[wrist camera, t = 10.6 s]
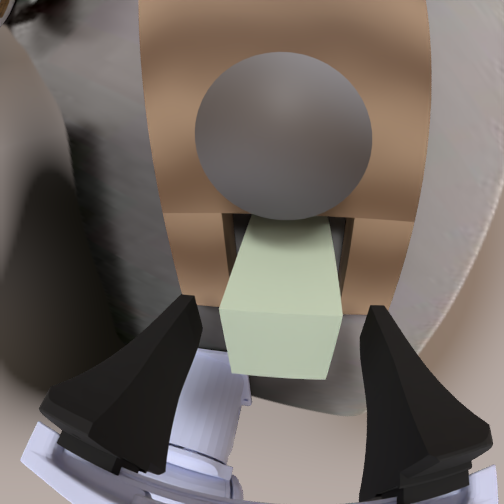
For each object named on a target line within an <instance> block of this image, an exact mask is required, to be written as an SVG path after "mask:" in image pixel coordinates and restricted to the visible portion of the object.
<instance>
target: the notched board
mask: <svg viewBox="0 0 504 504" xmlns="http://www.w3.org/2000/svg"><path fill="white" fill-rule="evenodd" d="M139 36H140V54H141V67H142V79H143V89H144V99H145V107H146V116H147V123H148V131H149V138H150V144H151V151H152V157H153V163H154V169H155V175H156V180H157V186H158V191H159V196H160V201H161V206H162V211H163V216H164V221H165V225H166V230H167V234H168V239H169V243H170V247H171V252H172V256H173V260H174V264H175V268H176V272H177V276H178V280H179V283H180V287H181V291H182V294H184V295H194V296H195V299H196V303H197V305H204V306H214V307H220V304H221V301H222V299H223V296H224V293H225V290H226V287H227V284H228V281H229V278H230V275H231V272H232V269H233V267H234V264H235V261H236V258H237V255H236V245H235V234H234V224H233V213H245V214H251V213H249V212H247V211H245V210H243V209H241V208H239V207H238V206H236V205H234V204H233V203H231V202H230V201H229V200H227V199H226V198H225V197H224V196H223V195H222V194H221V193H220V192H219V191H218V190H217V189H216V188H215V187H214V186H213V184H212V183H211V182H210V180H209V179H208V177H207V175H206V174H205V172H204V170H203V168H202V166H201V164H200V161H199V158H198V154H197V150H196V144H195V123H196V117H197V113H198V109H199V107H200V104H201V102H202V99H203V97H204V96H205V94H206V92H207V90H208V89H209V88H210V86H211V85H212V84H213V82H214V81H215V80H216V79H217V78H218V77H219V76H220V75H221V74H222V73H223V72H225V71H226V70H227V69H229V68H230V67H231V66H233V65H235V64H236V63H238V62H240V61H242V60H244V59H247V58H250V57H252V56H255V55H260V54H264V53H271V52H292V53H297V54H303V55H306V56H309V57H312V58H315V59H318V60H320V61H322V62H324V63H326V64H328V65H330V66H331V67H333V68H334V69H335V70H337V71H338V72H340V73H341V74H342V75H343V76H344V77H345V78H346V79H347V80H348V81H349V82H350V83H351V84H352V85H353V87H354V88H355V89H356V90H357V92H358V93H359V95H360V97H361V98H362V100H363V102H364V104H365V106H366V109H367V111H368V115H369V118H370V121H371V128H372V150H371V156H370V160H369V163H368V166H367V169H366V171H365V173H364V175H363V177H362V179H361V180H360V182H359V184H358V185H357V186H356V188H355V189H354V190H353V191H352V193H351V194H350V195H349V196H347V197H346V198H345V199H344V200H343V201H342V202H340V203H339V204H338V205H336V206H335V207H333V208H331V209H329V210H328V211H326V212H324V213H321V214H318V215H316V216H331V217H346V223H345V231H344V239H343V246H342V253H341V260H340V266H339V273H338V281H339V288H340V296H341V304H342V313H343V314H359V315H367V314H368V311H369V307H370V305H384V306H385V307H386V309H387V310H389V307H390V304H391V301H392V298H393V295H394V292H395V289H396V286H397V283H398V280H399V277H400V274H401V270H402V267H403V264H404V260H405V257H406V253H407V249H408V246H409V242H410V238H411V234H412V230H413V226H414V221H415V217H416V212H417V208H418V203H419V198H420V192H421V187H422V181H423V175H424V168H425V161H426V154H427V145H428V136H429V124H430V109H431V47H430V33H429V22H428V14H427V6H426V0H139Z"/></svg>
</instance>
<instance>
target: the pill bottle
mask: <svg viewBox="0 0 504 504" xmlns="http://www.w3.org/2000/svg"><path fill="white" fill-rule="evenodd" d="M14 2H15V0H0V27H1V26H2V24H3V23H4V22H5V20H6V19H7V17H8V16H9V14H10V12H11V10H12V8H13V5H14Z"/></svg>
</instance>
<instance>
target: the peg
mask: <svg viewBox="0 0 504 504" xmlns="http://www.w3.org/2000/svg"><path fill="white" fill-rule="evenodd" d="M219 312H220V317H221V322H222V327H223V333H224V338H225V343H226V348H227V352H228V357H229V362H230V367H231V372H232V373H235V374H244V375H254V376H265V377H277V378H294V379H321V380H326V376H327V373H328V370H329V366H330V363H331V359H332V356H333V352H334V348H335V345H336V341H337V337H338V333H339V329H340V325H341V321H342V317H343V313H342V304H341V296H340V288H339V281H338V274H337V267H336V260H335V254H334V248H333V242H332V236H331V230H330V225H329V219H328V217H324V216H313V217H309V218H305V219H298V220H275V219H269V218H264V217H260V216H257V215H254V214H252V215H251V218H250V221H249V224H248V227H247V229H246V232H245V235H244V238H243V241H242V244H241V247H240V249H239V252H238V255H237V258H236V261H235V264H234V267H233V269H232V272H231V275H230V278H229V281H228V284H227V287H226V290H225V293H224V296H223V299H222V301H221V304H220V307H219Z"/></svg>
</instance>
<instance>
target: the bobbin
mask: <svg viewBox="0 0 504 504" xmlns="http://www.w3.org/2000/svg"><path fill="white" fill-rule="evenodd" d="M195 144H196V150H197V154H198V158H199V161H200V164H201V166H202V168H203V170H204V172H205V174H206V175H207V177H208V179H209V180H210V182H211V183H212V184H213V186H214V187H215V188H216V189H217V190H218V191H219V192H220V193H221V194H222V195H223V196H224V197H225V198H226V199H227V200H229V201H230V202H231V203H233V204H234V205H236V206H238V207H239V208H241V209H243V210H245V211H247V212H249V213H251V214H254V215H257V216H260V217H264V218H269V219H275V220H298V219H305V218H309V217H313V216H316V215H318V214H321V213H324V212H326V211H328V210H329V209H331V208H333V207H335V206H336V205H338V204H339V203H340V202H342V201H343V200H344V199H345V198H346V197H347V196H349V195H350V194H351V193H352V191H353V190H354V189H355V188H356V186H357V185H358V184H359V182H360V180H361V179H362V177H363V175H364V173H365V171H366V169H367V166H368V163H369V160H370V156H371V150H372V128H371V121H370V118H369V115H368V111H367V109H366V106H365V104H364V102H363V100H362V98H361V97H360V95H359V93H358V92H357V90H356V89H355V88H354V87H353V85H352V84H351V83H350V82H349V81H348V80H347V79H346V78H345V77H344V76H343V75H342V74H341V73H340V72H338V71H337V70H335V69H334V68H333V67H331V66H330V65H328V64H326V63H324V62H322V61H320V60H318V59H315V58H312V57H309V56H306V55H303V54H297V53H292V52H271V53H264V54H260V55H255V56H252V57H250V58H247V59H244V60H242V61H240V62H238V63H236V64H235V65H233V66H231V67H230V68H229V69H227V70H226V71H225V72H223V73H222V74H221V75H220V76H219V77H218V78H217V79H216V80H215V81H214V82H213V84H212V85H211V86H210V88H209V89H208V90H207V92H206V94H205V96H204V97H203V99H202V102H201V104H200V107H199V109H198V113H197V117H196V123H195Z"/></svg>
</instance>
